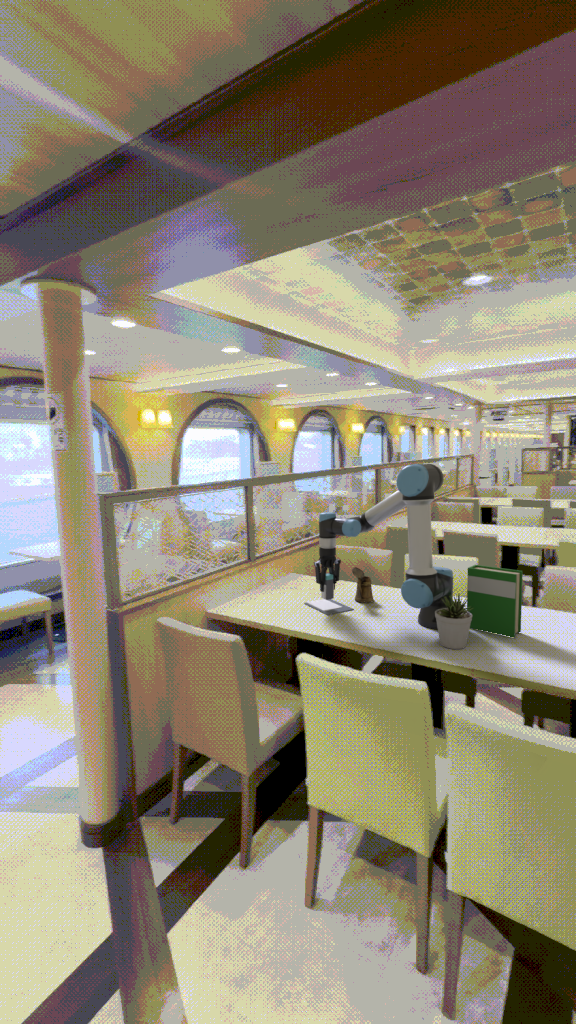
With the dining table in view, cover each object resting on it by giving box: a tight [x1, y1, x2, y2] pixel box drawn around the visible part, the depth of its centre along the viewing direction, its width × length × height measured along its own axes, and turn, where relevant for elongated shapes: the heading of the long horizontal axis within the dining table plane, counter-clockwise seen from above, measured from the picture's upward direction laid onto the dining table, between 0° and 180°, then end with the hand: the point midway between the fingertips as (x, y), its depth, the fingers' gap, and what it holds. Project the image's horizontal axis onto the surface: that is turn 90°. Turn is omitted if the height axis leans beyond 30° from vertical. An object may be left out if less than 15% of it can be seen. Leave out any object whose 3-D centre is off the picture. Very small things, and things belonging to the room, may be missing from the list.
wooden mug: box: [351, 566, 374, 604], centre depth 215 cm, size 9×14×18 cm, turn 145°
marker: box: [325, 572, 334, 600], centre depth 205 cm, size 4×4×11 cm
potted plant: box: [435, 594, 473, 650], centre depth 161 cm, size 13×14×20 cm
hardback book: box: [466, 564, 523, 638], centre depth 174 cm, size 18×7×24 cm, turn 46°
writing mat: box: [303, 598, 355, 616], centre depth 209 cm, size 20×14×1 cm
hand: (327, 597), depth 205 cm, fingers closed on marker, 3 cm apart
